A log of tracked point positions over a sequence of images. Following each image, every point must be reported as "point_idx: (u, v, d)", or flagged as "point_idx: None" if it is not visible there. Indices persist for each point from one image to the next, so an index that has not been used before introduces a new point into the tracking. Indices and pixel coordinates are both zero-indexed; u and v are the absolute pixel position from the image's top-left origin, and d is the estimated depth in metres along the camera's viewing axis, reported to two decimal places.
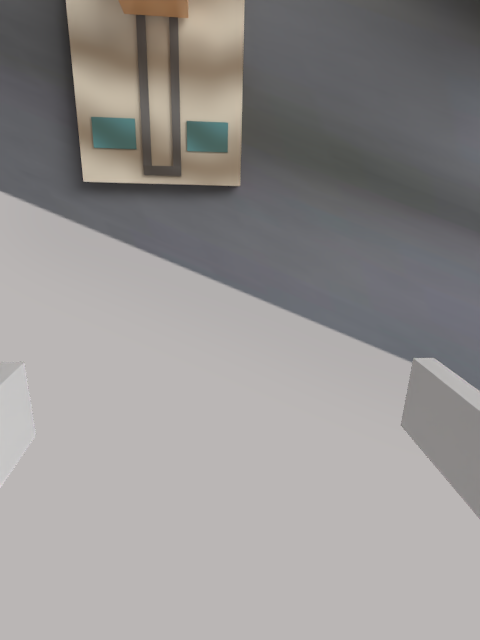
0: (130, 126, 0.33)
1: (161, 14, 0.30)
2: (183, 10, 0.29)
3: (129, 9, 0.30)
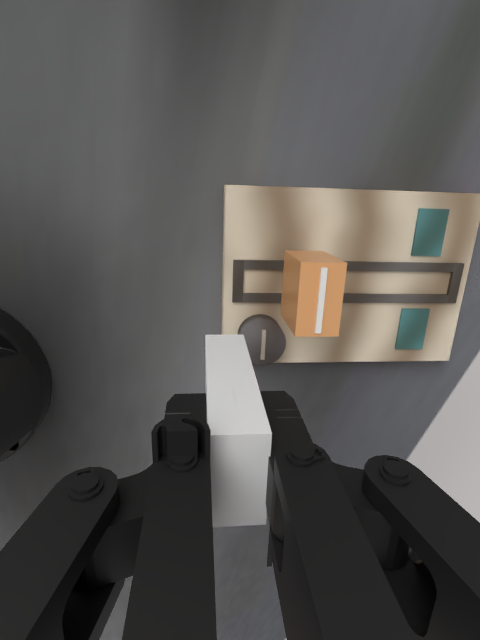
0: (409, 313, 0.32)
1: None
2: None
3: None
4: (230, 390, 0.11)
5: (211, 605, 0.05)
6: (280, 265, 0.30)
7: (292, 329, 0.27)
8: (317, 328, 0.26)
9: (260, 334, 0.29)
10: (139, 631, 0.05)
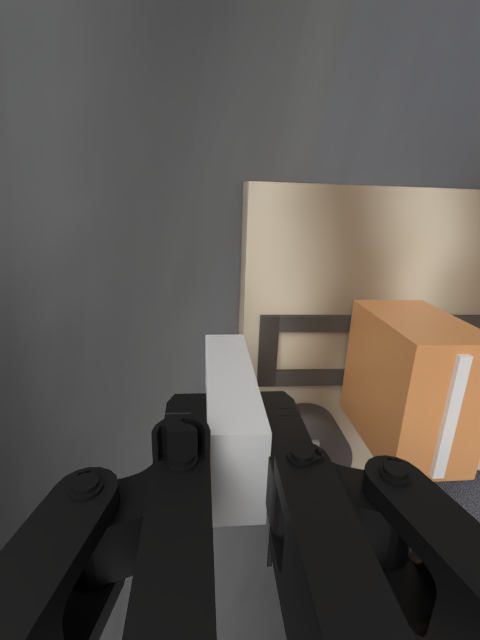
0: None
1: None
2: None
3: None
4: (230, 390, 0.11)
5: (211, 605, 0.05)
6: (343, 324, 0.17)
7: None
8: (437, 469, 0.13)
9: None
10: (139, 631, 0.05)
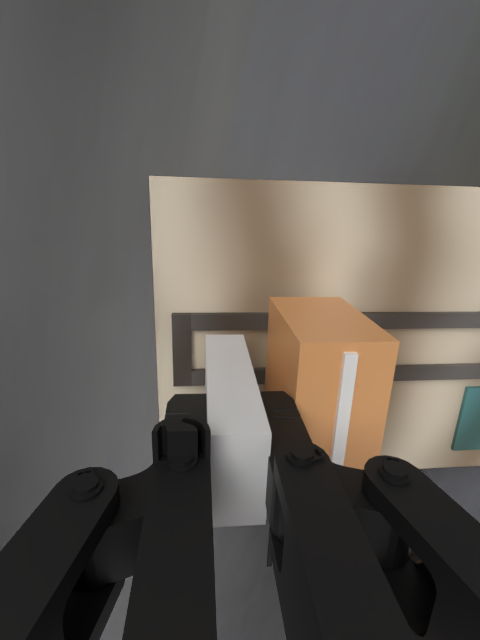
0: (478, 395, 0.19)
1: None
2: None
3: None
4: (230, 390, 0.11)
5: (211, 605, 0.05)
6: (258, 322, 0.16)
7: None
8: None
9: None
10: (139, 631, 0.05)
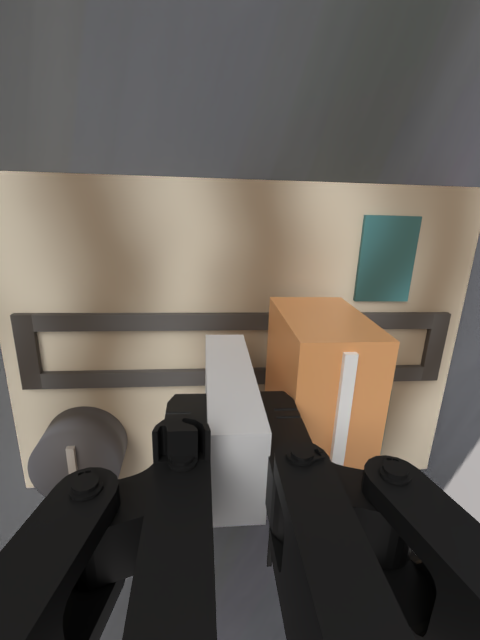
0: None
1: None
2: None
3: None
4: (230, 390, 0.11)
5: (211, 605, 0.05)
6: (105, 323, 0.16)
7: None
8: None
9: (65, 454, 0.16)
10: (140, 631, 0.05)
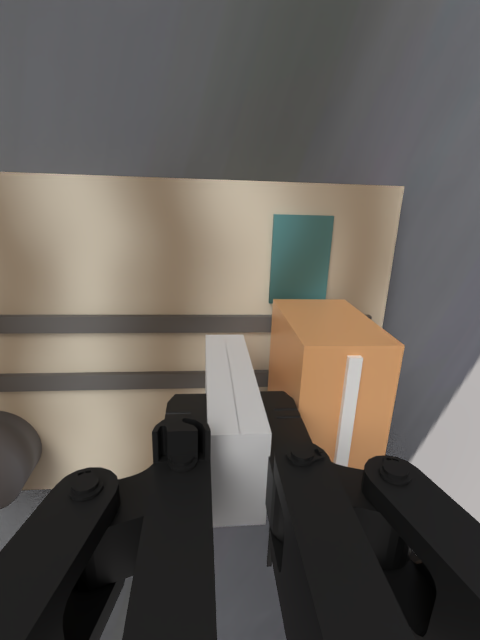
0: None
1: None
2: None
3: None
4: (230, 390, 0.11)
5: (211, 605, 0.05)
6: (7, 325, 0.15)
7: None
8: None
9: None
10: (139, 631, 0.05)
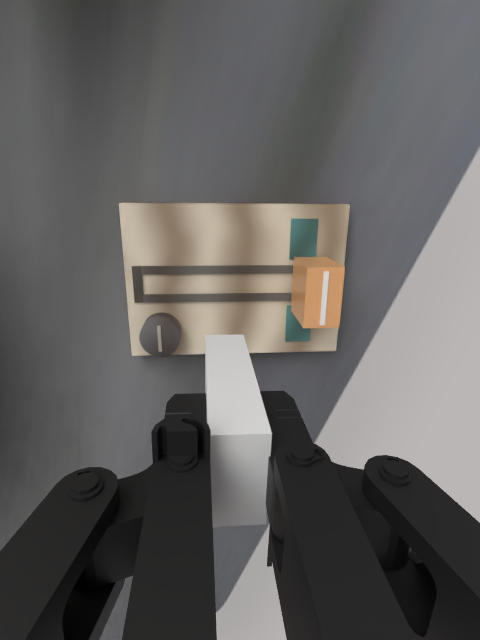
0: None
1: None
2: None
3: None
4: (230, 390, 0.11)
5: (211, 605, 0.05)
6: (173, 270, 0.34)
7: (301, 322, 0.32)
8: (321, 321, 0.31)
9: (156, 329, 0.34)
10: (139, 631, 0.05)
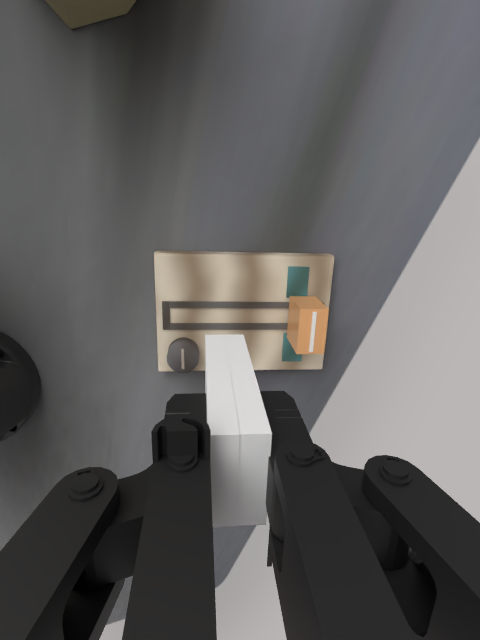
0: None
1: None
2: None
3: None
4: (230, 390, 0.11)
5: (211, 605, 0.05)
6: (194, 305, 0.44)
7: (294, 349, 0.42)
8: (310, 349, 0.41)
9: (180, 352, 0.43)
10: (139, 631, 0.05)
